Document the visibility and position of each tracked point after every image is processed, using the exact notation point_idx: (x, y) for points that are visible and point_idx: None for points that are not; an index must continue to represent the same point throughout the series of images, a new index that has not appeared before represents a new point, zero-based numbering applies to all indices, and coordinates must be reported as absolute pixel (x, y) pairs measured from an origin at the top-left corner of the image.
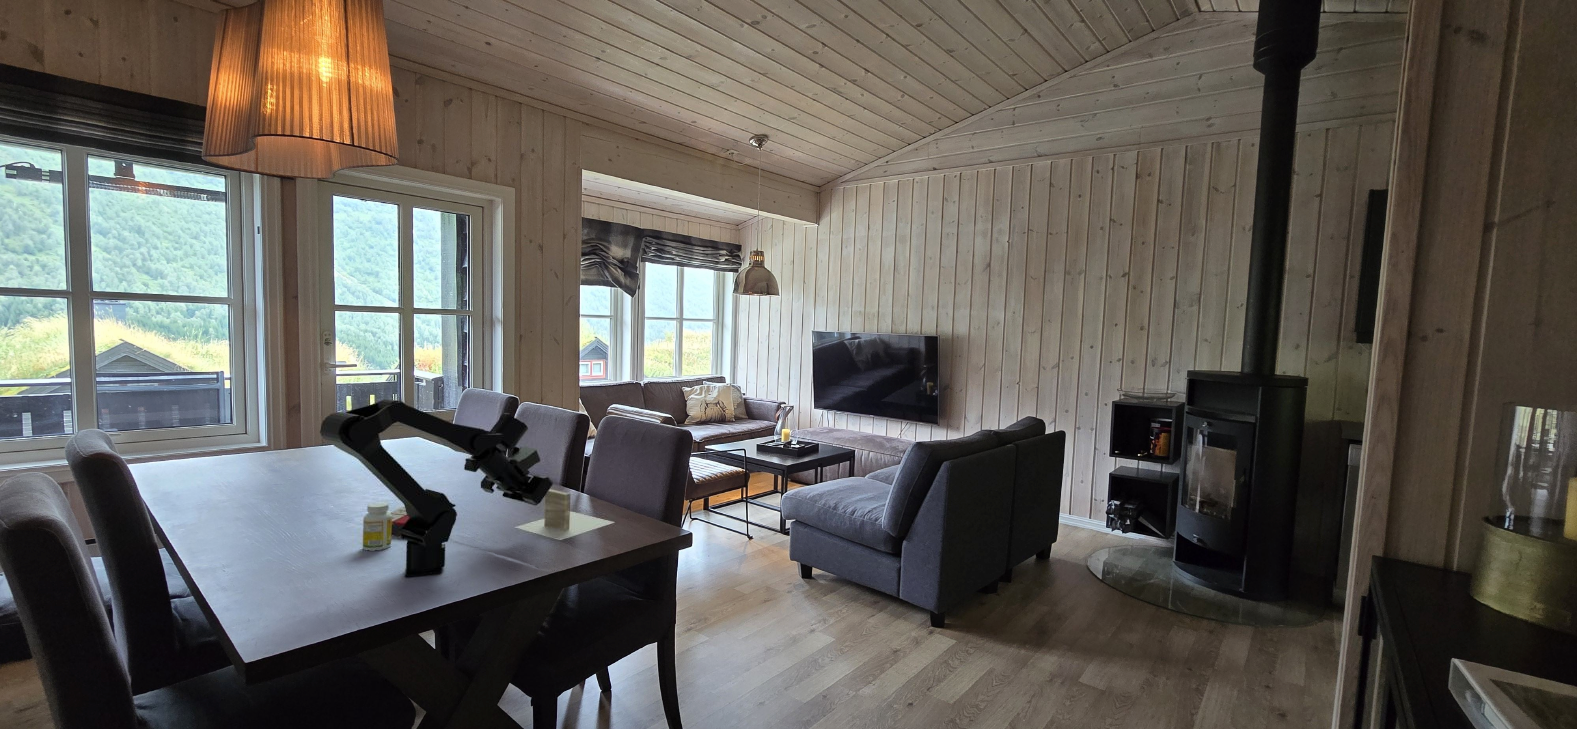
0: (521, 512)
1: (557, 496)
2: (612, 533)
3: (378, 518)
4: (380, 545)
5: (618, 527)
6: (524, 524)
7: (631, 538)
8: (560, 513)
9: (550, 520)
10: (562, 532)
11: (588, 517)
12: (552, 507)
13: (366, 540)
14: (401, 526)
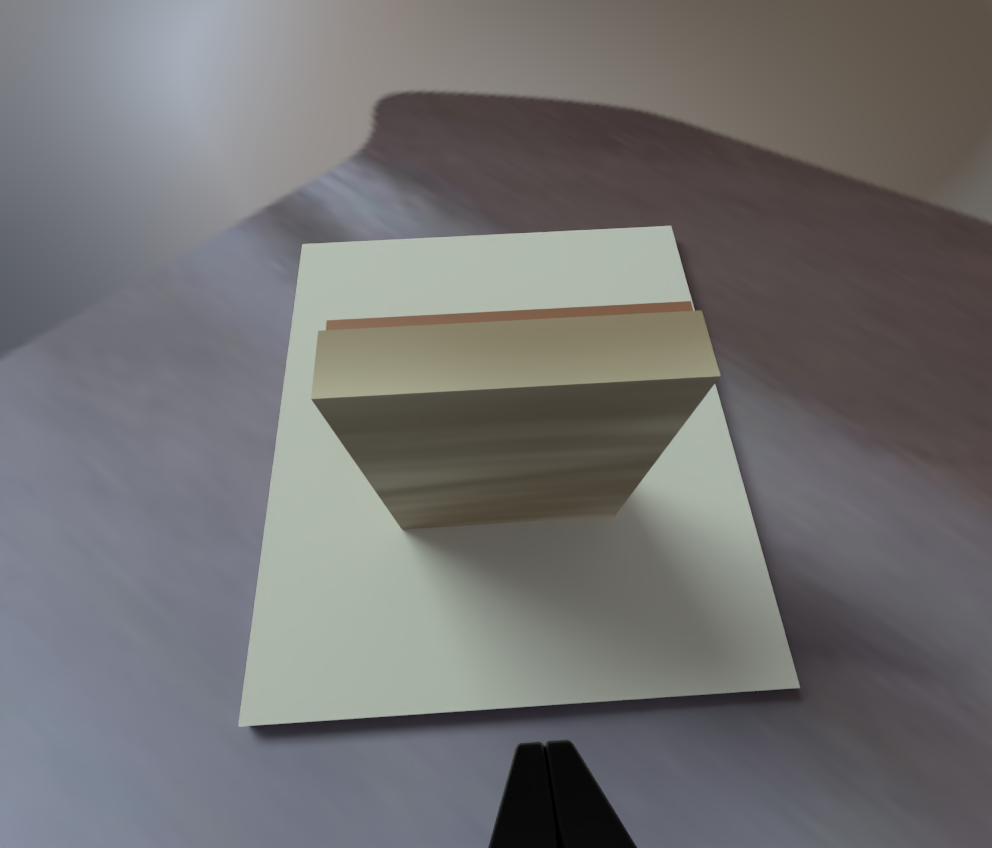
0: (4, 414)
1: (559, 409)
2: (805, 333)
3: None
4: None
5: (723, 252)
6: (255, 614)
7: (956, 326)
8: (591, 478)
9: (464, 511)
10: (639, 548)
11: (483, 254)
12: (477, 469)
13: None
14: None
